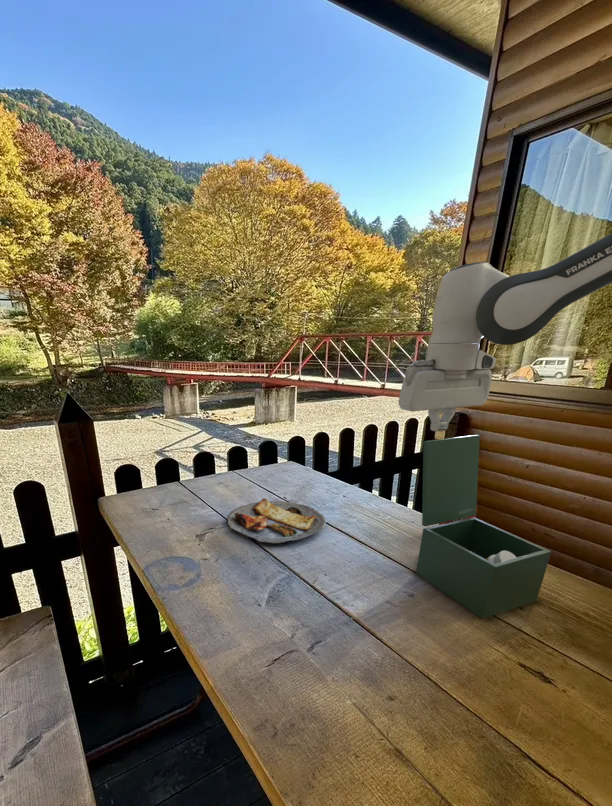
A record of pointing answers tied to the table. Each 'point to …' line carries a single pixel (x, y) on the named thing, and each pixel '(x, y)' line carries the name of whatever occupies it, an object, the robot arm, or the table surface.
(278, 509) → the food plate
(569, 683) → the table surface
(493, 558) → the supplement bottle
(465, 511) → the lid
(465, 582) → the chest
